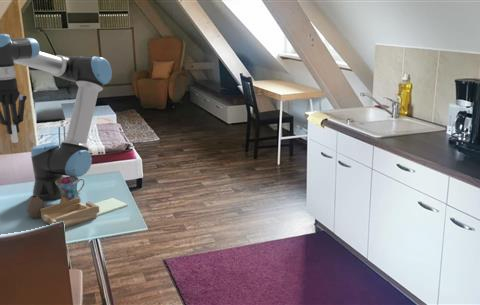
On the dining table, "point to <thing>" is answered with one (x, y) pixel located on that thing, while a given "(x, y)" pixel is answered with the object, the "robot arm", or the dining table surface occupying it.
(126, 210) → the dining table surface
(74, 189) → the mug
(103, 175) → the dining table surface
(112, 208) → the lid
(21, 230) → the dining table surface
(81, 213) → the box
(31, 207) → the vase
